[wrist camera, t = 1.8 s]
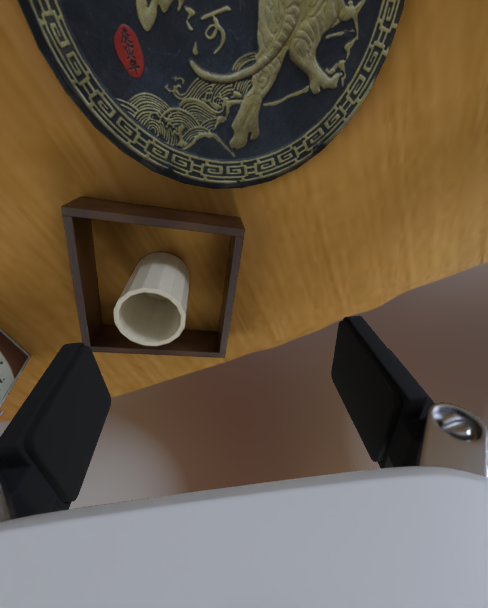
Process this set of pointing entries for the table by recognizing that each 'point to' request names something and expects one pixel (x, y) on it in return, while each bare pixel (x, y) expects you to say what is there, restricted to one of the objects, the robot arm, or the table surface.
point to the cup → (154, 300)
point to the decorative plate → (216, 77)
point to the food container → (10, 364)
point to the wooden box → (86, 282)
